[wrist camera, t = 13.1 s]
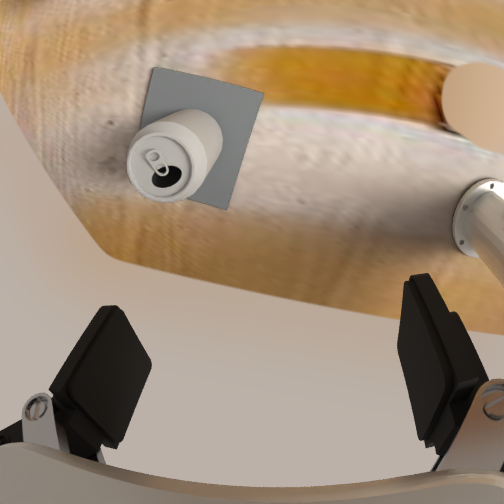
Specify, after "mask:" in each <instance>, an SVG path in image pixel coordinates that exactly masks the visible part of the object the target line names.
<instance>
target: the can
mask: <svg viewBox="0 0 504 504" xmlns="http://www.w3.org/2000/svg"><path fill="white" fill-rule="evenodd" d="M222 144H223V136H222V132H221V128H220V127H219V125H218V123H217V122H216V120H215V119H214V118H212V117H211V116H210V115H209V114H208V113H206V112H203V111H200V110H198V109H185V110H181V111H178V112H175V113H173V114H171V115H169V116H166V117H164V118H162V119H160V120H158V121H155V122H153V123H151V124H149V125H147V126H146V127H144V128H143V129H142V130H140V131H139V132H137V134H136V135H135V137H134V138H133V140H132V141H131V142H130V145H129V149H128V152H127V160H126V161H127V173H128V176H129V179H130V182H131V183H132V185H133V186H134V188H135V189H136V190H137V191H138V192H139V193H140V194H142V195H143V196H144V197H146V198H148V199H151V200H153V201H157V202H176V201H180V200H184V199H185V198H187V197H189V196H191V195H192V194H194V193H195V191H196V190H197V189H198V188H199V187H200V186H201V185H202V183H203V181H204V180H205V178H206V176H207V175H208V173H209V171H210V170H211V168H212V166H213V165H214V163H215V162H216V160H217V158H218V157H219V154H220V152H221V150H222Z"/></svg>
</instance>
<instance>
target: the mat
mask: <svg viewBox="0 0 504 504" xmlns="http://www.w3.org/2000/svg"><path fill="white" fill-rule="evenodd" d="M263 96H264V93H261V92H258V91H255V90H251V89H248V88H244V87H241V86H237V85H234V84H230V83H226V82H222V81H218V80H214V79H210V78H206V77H202V76H198V75H193V74H188V73H184V72H179V71H174V70H169V69H164V68H158V67H154V70H153V74H152V78H151V82H150V86H149V90H148V94H147V98H146V103H145V107H144V112H143V116H142V121H141V126H140V130H142V129H143V128H144V127H146V126H147V125H149V124H151V123H153V122H155V121H158V120H160V119H162V118H164V117H166V116H169V115H171V114H173V113H175V112H178V111H181V110H185V109H198V110H200V111H203V112H206V113H208V114H209V115H210V116H211V117H212V118H214V119H215V120H216V122H217V123H218V125H219V127H220V128H221V132H222V136H223V144H222V150H221V152H220V154H219V157H218V158H217V160H216V162H215V163H214V165H213V166H212V168H211V170H210V171H209V173H208V175H207V176H206V178H205V180H204V181H203V183H202V185H201V186H200V187H199V188H198V189H197V190H196V191H195V193H194V194H192V195H191V196H189V197H187V199H191V200H194V201H197V202H201V203H204V204H208V205H211V206H214V207H218V208H221V209H224V210H227V208H228V205H229V202H230V198H231V195H232V192H233V188H234V185H235V182H236V179H237V176H238V172H239V169H240V166H241V163H242V160H243V157H244V153H245V150H246V147H247V144H248V141H249V138H250V135H251V132H252V129H253V126H254V123H255V120H256V116H257V113H258V110H259V107H260V104H261V101H262V99H263Z"/></svg>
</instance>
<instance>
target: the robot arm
mask: <svg viewBox="0 0 504 504" xmlns="http://www.w3.org/2000/svg"><path fill="white" fill-rule="evenodd" d="M452 231H453V237H454V241H455V243H456V244H457V246H458V247H459V249H460V250H461V251H462V252H463V253H464V254H465V255H468V256H470V257H474V258H481V259H482V260H483V262H484V263H485V264H486V265H487V266H488V268H489V269H490V270H491V271H492V273H493V274H494V275H495V276H496V278H497V279H498V280H499V282H500V283H501V284H502V285H503V287H504V182H502V181H500V180H498V179H492V178H490V179H484V180H482V181H479V182H477V183H476V184H474V185H473V186H472V187H471V188H470V189H469V190H467V191H466V193H465V194H464V195H463V197H462V198H461V200H460V202H459V203H458V205H457V208H456V210H455V213H454V218H453V225H452ZM397 349H398V354H399V358H400V362H401V366H402V369H403V373H404V377H405V381H406V385H407V389H408V393H409V398H410V402H411V406H412V411H413V415H414V420H415V425H416V430H417V435H418V438H419V440H420V441H422V440H424V442H425V447H426V448H429V447H433V446H435V449H436V454H437V455H439V457H438V459H437V460H436V462H435V464H434V465H433V467H432V469H431V470H430V472H426V473H420V474H414V475H409V476H401V477H395V478H390V479H383V480H376V481H369V482H361V483H352V484H342V485H341V484H340V485H329V486H313V487H283V488H282V487H275V488H274V487H244V486H228V485H217V484H207V483H198V482H191V481H183V480H177V479H170V478H165V477H159V476H153V475H149V474H144V473H139V472H134V471H130V470H126V469H122V468H118V467H113V466H110V465H106V463H105V460H104V457H103V454H102V451H101V448H100V447H101V444H103V445H104V446H105V447H110V448H113V449H117V447H118V445H119V443H120V442H121V441H122V440H123V439H124V436H125V433H126V431H127V428H128V425H129V423H130V420H131V418H132V415H133V413H134V410H135V407H136V405H137V403H138V400H139V398H140V395H141V392H142V390H143V388H144V385H145V383H146V380H147V377H148V375H149V373H150V370H151V366H152V363H151V359H150V358H149V356H148V354H147V353H146V351H145V349H144V347H143V346H142V344H141V342H140V341H139V339H138V337H137V335H136V334H135V332H134V330H133V328H132V326H131V325H130V323H129V321H128V319H127V317H126V316H125V314H124V312H123V311H122V310H121V309H120V308H119V307H118V306H116V305H113V306H112V305H111V306H102V307H101V308H100V309H99V310H98V312H97V313H96V315H95V316H94V317H93V319H92V320H91V322H90V323H89V325H88V327H87V328H86V330H85V331H84V333H83V334H82V336H81V337H80V339H79V340H78V342H77V343H76V345H75V347H74V348H73V350H72V351H71V353H70V355H69V356H68V358H67V360H66V361H65V363H64V364H63V366H62V368H61V369H60V371H59V373H58V374H57V376H56V378H55V379H54V381H53V383H52V384H51V386H50V388H49V390H50V392H51V393H52V394H53V397H52V398H51V397H50V396H49V395H48V394H46V393H38V394H35V395H34V396H32V397H31V398H30V399H29V400H28V401H27V402H26V404H25V405H24V407H23V410H22V419H21V420H19V421H18V422H16V423H14V424H12V425H10V426H8V427H7V428H5V429H3V430H1V431H0V504H504V379H492V380H490V381H489V379H488V376H487V374H486V372H485V369H484V367H483V365H482V362H481V360H480V358H479V356H478V354H477V352H476V349H475V347H474V345H473V343H472V341H471V339H470V337H469V335H468V333H467V331H466V329H465V327H464V325H463V323H462V321H461V319H460V317H459V315H458V314H457V313H456V312H449V310H448V308H447V306H446V304H445V302H444V300H443V298H442V296H441V295H440V293H439V291H438V289H437V287H436V285H435V284H434V282H433V280H432V278H431V276H430V275H429V274H428V273H424V274H418V275H411V276H410V278H409V281H405V282H404V289H403V300H402V309H401V318H400V326H399V334H398V341H397Z"/></svg>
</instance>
